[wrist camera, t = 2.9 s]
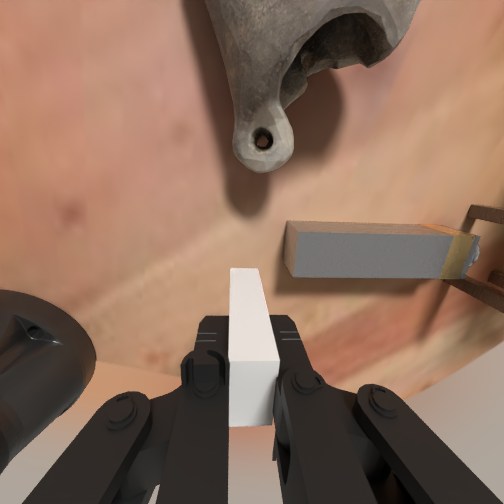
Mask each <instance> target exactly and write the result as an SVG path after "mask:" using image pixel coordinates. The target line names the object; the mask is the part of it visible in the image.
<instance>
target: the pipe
mask: <svg viewBox="0 0 504 504" xmlns="http://www.w3.org/2000/svg"><path fill="white" fill-rule="evenodd" d="M419 2H420V0H205V3H206V6H207V9H208V13H209V16H210V19H211V22H212V25H213V28H214V31H215V35H216V38H217V41H218V45H219V48H220V52H221V55H222V59H223V62H224V66H225V70H226V75H227V79H228V83H229V87H230V92H231V96H232V100H233V105H234V114H235V122H234V133H233V139H232V148H233V153H234V154H235V156H236V157H237V159H238V160H239V161H240V162H241V163H242V164H243V165H244V166H246V167H247V168H248V169H249V170H251V171H254V172H256V173H265V172H271V171H274V170H276V169H278V168H279V167H281V166H282V165H284V164H285V163H286V162H287V161H288V160H289V159H290V158H291V156H292V153H293V151H294V136H293V130H292V127H291V125H290V123H289V121H288V118H287V116H286V114H285V112H284V110H285V109H286V108H287V107H288V105H290V104H291V103H292V102H293V101H295V100H296V99H297V98H299V97H300V96H301V95H302V94H303V93H304V92H305V90H306V88H307V86H308V82H307V77H308V76H310V75H311V74H315V73H317V72H319V71H321V70H324V69H327V68H333V69H339V68H343V67H347V66H351V65H355V64H359V63H360V64H362V65H364V66H365V67H367V68H370V67H372V66H374V65H376V64H377V63H379V62H381V61H382V60H384V59H385V58H386V57H388V56H389V55H390V54H391V53H392V52H393V50H394V49H395V48H396V47H397V46H398V45H399V43H400V41H401V40H402V38H403V37H404V35H405V34H406V32H407V31H408V29H409V27H410V24H411V21H412V19H413V16H414V14H415V11H416V9H417V7H418V5H419ZM263 137H267V139H268V141H269V142H268V144H267V146H266V147H260V146H258V145H257V143H258V142H259V140H260V139H262V138H263Z"/></svg>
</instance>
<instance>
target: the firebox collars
mask: <svg viewBox="0 0 504 504" xmlns="http://www.w3.org/2000/svg"><path fill="white" fill-rule="evenodd" d="M467 217H471V218H476V219H481V220H485V221H490V222H494V223H499V224H504V208H497V207H491V206H485V205H471V207H470V210H469V213H468V215H467ZM444 281H445V282H447V283H449V284H451V285H452V286H454V287H456V288H458V289H460V290H462V291H464V292H465V293H467V294H469V295H471V296H473V297H475V298H476V299H478V300H480V301H482V302H484V303H486V304H488V305H489V306H491V307H493V308H495V309H497V310H499V311H501V312H502V313H504V293H503V292H501V291H499V290H497V289H495V288H493V287H490V286H488V285H486V284H484V283H482V282H480V281H478V280H475V279H473V278H471V277H469V276H467V275H465V277H464V279H444ZM488 281H489V282H491V283H493V284H495V285H497V286H500V287H502V288H504V272H496V271H492V272H491V275H490V277H489V279H488Z"/></svg>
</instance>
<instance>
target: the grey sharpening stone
mask: <svg viewBox="0 0 504 504" xmlns="http://www.w3.org/2000/svg"><path fill="white" fill-rule="evenodd" d="M480 237H481V236H477V235H473V234H470V233H466V232H463V231H459V230H456V229H452V228H449V227H445V226H442V225H429V224H419V225H413V224H381V223H349V222H317V221H287V226H286V235H285V245H284V255H283V261H284V262H285V264H286V266H287V268H288V270H289V271H290V273H291V275H292V277H310V278H438V279H464V277H465V275H466V272H467V270H468V267H470V266H472V265H473V264H474V263H475V262H476V261H477V260H478V258H479V255H480V246H479V243H478V242H479V239H480Z"/></svg>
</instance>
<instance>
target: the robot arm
mask: <svg viewBox="0 0 504 504" xmlns="http://www.w3.org/2000/svg"><path fill="white" fill-rule="evenodd" d="M95 363H96V359H95V352H94V348H93V345H92V343H91V341H90V339H89V337H88V335H87V334H86V332H85V331H84V330H83V328H82V327H81V326H80V325H79V324H78V323H77V322H76V321H75V320H74V319H73V318H72V317H71V316H69V315H68V314H67V313H65V312H64V311H63V310H61V309H60V308H58V307H56V306H54V305H53V304H51V303H49V302H47V301H44V300H42V299H40V298H37V297H34V296H31V295H28V294H24V293H20V292H15V291H9V290H0V474H1V473H2V472H3V470H4V469H5V468H6V466H7V465H8V463H9V462H10V461H11V460H12V459H13V458H14V457H15V456H16V455H17V454H18V453H19V452H20V451H21V450H22V449H23V448H24V447H26V446H27V445H28V444H29V443H30V442H31V441H32V440H33V439H34V438H35V437H36V436H38V435H39V434H40V433H41V432H42V431H43V430H44V429H45V428H46V427H47V426H48V425H49V424H50V423H51V422H53V421H54V420H55V418H57V417H59V416H60V415H62V414H63V413H64V412H65V411H66V410H68V409H69V408H70V407H71V406H72V405H73V404H74V403H75V402H76V401H77V399H78V398H79V397H80V395H81V394H82V392H83V391H84V389H85V388H86V386H87V385H88V383H89V381H90V380H91V378H92V375H93V373H94V370H95ZM181 380H182V385H181V386H179V387H178V388H177V389H175V390H174V391H173V392H170V393H168V394H165V395H163V396H159V397H156V398H153V399H150V400H149V399H148V398H147V396H146V395H145V394H142V393H140V392H125V393H122V394H118V395H116V396H115V397H113V398H111V399H110V400H108V401H106V402H105V403H104V404H103V405H102V406H101V407H100V408H99V409H98V410H97V411H96V413H95V414H94V415H93V416H92V418H91V419H90V420H89V421H88V423H87V424H86V425H85V426H84V428H83V429H82V430H81V431H80V432H79V434H78V435H77V436H76V438H75V439H74V440H73V441H72V442H71V444H70V445H69V446H68V447H67V448H66V450H65V451H64V452H63V453H62V455H61V456H60V457H59V458H58V460H57V461H56V462H55V463H54V465H53V466H52V467H51V468H50V469H49V471H48V472H47V473H46V474H45V476H44V477H43V478H42V479H41V481H40V482H39V483H38V484H37V486H36V487H35V488H34V489H33V491H32V492H31V493H30V494H29V495H28V497H27V498H26V499H25V500H24V502H23V503H22V504H148V503H149V500H150V498H151V496H152V493H153V491H154V489H155V486H157V485H159V484H160V487H159V491H158V495H157V500H156V504H228V447H229V445H228V444H229V427H239V426H264V425H272V421H273V417H274V423H275V429H276V431H275V439H274V447H273V459H272V460H273V461H276V458H277V465H278V472H279V478H280V486H281V492H282V499H283V504H503V503H502V502H501V501H500V500H499V499H498V498H497V497H496V496H495V495H494V493H493V492H492V491H491V490H490V489H489V488H488V487H487V486H486V485H485V484H484V483H483V482H482V481H481V480H480V479H479V478H478V477H477V476H476V475H475V474H474V473H473V472H472V471H471V470H470V469H469V468H468V467H467V466H466V465H465V464H464V463H463V462H462V461H461V460H460V459H459V458H458V457H457V456H456V455H455V453H453V451H452V450H451V449H450V448H449V447H448V446H447V445H446V444H445V443H444V442H443V441H442V440H441V439H440V438H439V437H438V436H437V435H436V434H435V433H434V432H433V431H432V430H431V429H430V428H429V427H428V426H427V425H426V424H425V423H424V422H423V421H422V420H421V419H420V418H419V417H418V416H417V414H416V413H415V412H414V411H413V410H412V409H410V407H409V406H408V405H407V404H406V403H405V402H404V401H403V400H402V399H401V398H400V397H398V396H397V395H396V394H395V393H394V392H392V391H391V390H389V389H387V388H385V387H383V386H379V385H375V384H365V385H363V386H362V387H360V388H359V390H358V393H357V394H355V393H352V392H348V391H344V390H340V389H337V388H334V387H332V386H330V385H328V384H326V382H325V381H324V379H323V378H322V376H321V375H319V374H318V373H317V372H316V371H314V370H313V368H312V366H311V363H310V361H309V358H308V356H307V353H306V351H305V348H304V345H303V343H302V340H301V338H300V335H299V333H298V330H297V328H296V325H295V322H294V321H293V320H292V319H291V318H290V317H288V316H287V315H269V313H268V309H267V305H266V301H265V297H264V293H263V288H262V284H261V280H260V276H259V272H258V269H254V268H230V307H229V316H205V318H204V319H203V320H202V321H201V322H200V323H199V328H198V334H197V338H196V342H195V347H194V351H191V352H190V353H189V354H188V355H186V356H185V357H184V359H183V361H182V363H181Z"/></svg>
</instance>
